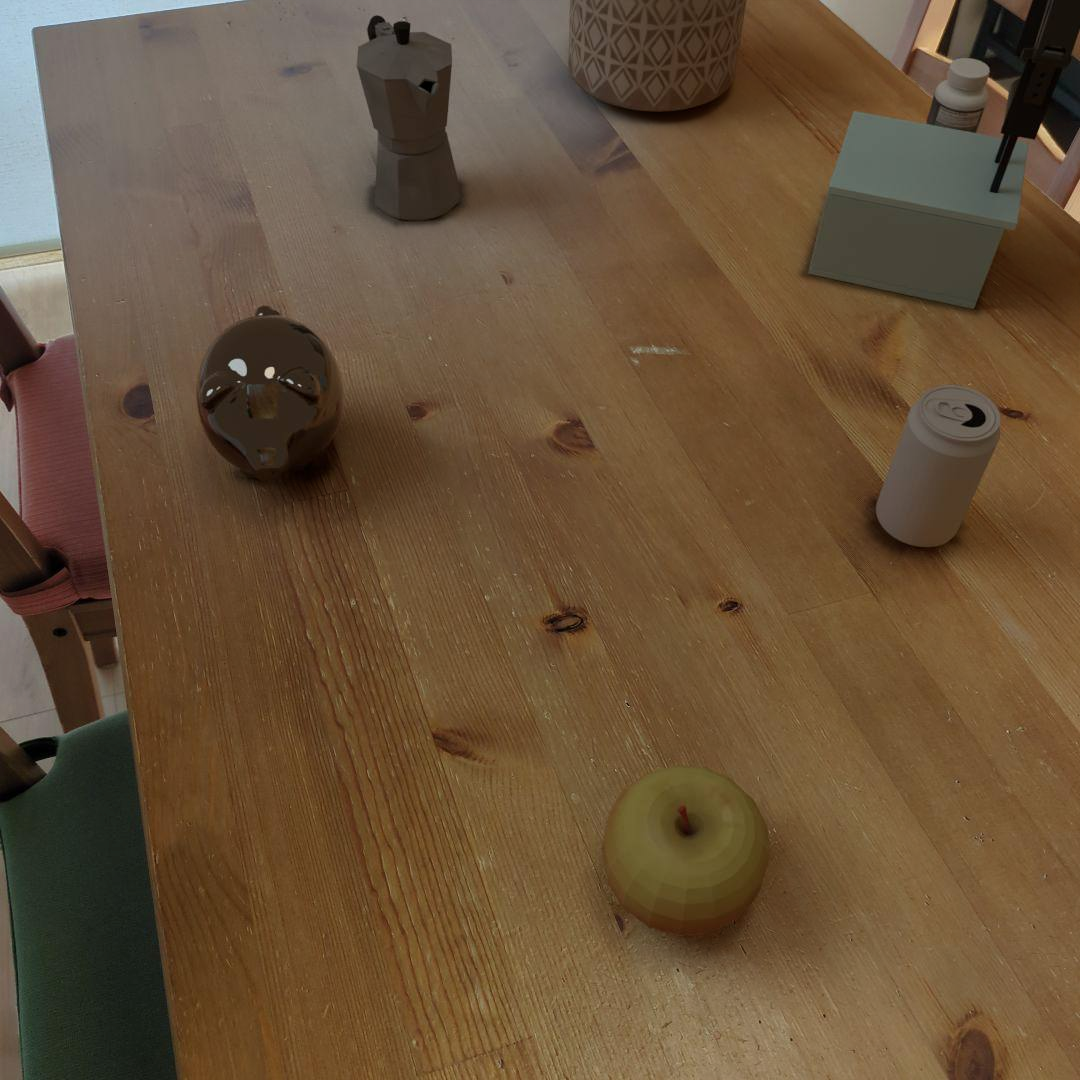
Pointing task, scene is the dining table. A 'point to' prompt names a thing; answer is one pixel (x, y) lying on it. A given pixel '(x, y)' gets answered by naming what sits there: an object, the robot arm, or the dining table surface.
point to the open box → (904, 250)
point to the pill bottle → (961, 96)
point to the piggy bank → (270, 395)
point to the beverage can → (938, 465)
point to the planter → (655, 50)
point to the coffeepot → (409, 119)
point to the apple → (685, 850)
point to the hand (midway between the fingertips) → (1023, 94)
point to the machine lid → (932, 169)
